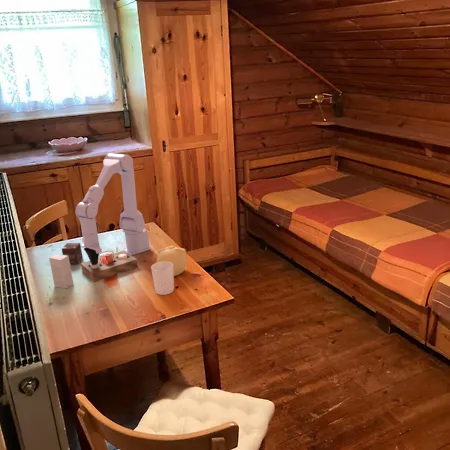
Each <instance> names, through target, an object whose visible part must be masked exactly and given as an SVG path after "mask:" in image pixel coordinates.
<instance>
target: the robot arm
mask: <svg viewBox="0 0 450 450" xmlns="http://www.w3.org/2000/svg"><path fill="white" fill-rule="evenodd" d="M102 164H103V167H102V169H101V171H100V174H99V176H98V178H97V180H96V182H95V185H91V186H90V187H89V188H88V191H87V192H86V194H85V196H84V198H83V199H82V201H81V202H78V204H77V205H76V207H75V211H74V213H75V215H76V217H77V218H78V221H79V223H80V228H81V234H82V235H81V236H82V238H81V241H82V244H80V245H81V249H83V250H84V252H85V253H86V255H87V257H88V259H89V261H90V262H91V264H92V265H96V264H98V258H100V257H99V255H100V253H101V254H102V253H103V250H102V247H101V243H100V240H99V234H98V228H97V227H98V226H97V221H96V220H97V219H96V216H97V215H98V212H99V211H98V208H99V204H100V202H101V200H102V198H103V196H104V195H105V191H104V189H105V187H106V186H107V185H108V182H110V179H111V178H112V177H113V175H115V174H119V175H120V178H121V179H120V181H121V189H122V200H123V201H122V202H123V211H122V212H121V213H120V217H119V227H120V229H121V230H122V232H123V233H124V238H125V239H124V240H125V244H126V248H124V249H123V250H122V251H126V252H127V253H129V254H130V255H132V256H134V255H137V254H140V253H144V252H147V251H150V250H151V247H150V240H149V234H148V232H147V229H146V228H145V226H146V223H145V219H144V217H143V213H141V212H140V210H138V205H137V204H138V203H137V194H136V193H137V192H136V181H135V172H134V171H135V168H134V160H133V157H132V156H130V154H120V153H111V152H109V153H107V154H106V155H105V157H104V159H103V161H102Z"/></svg>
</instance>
